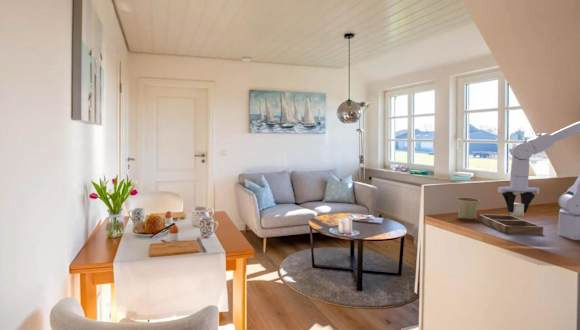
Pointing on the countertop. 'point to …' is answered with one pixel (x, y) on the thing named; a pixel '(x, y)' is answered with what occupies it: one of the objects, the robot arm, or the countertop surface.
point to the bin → (510, 224)
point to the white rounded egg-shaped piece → (518, 210)
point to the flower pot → (467, 207)
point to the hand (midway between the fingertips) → (517, 212)
